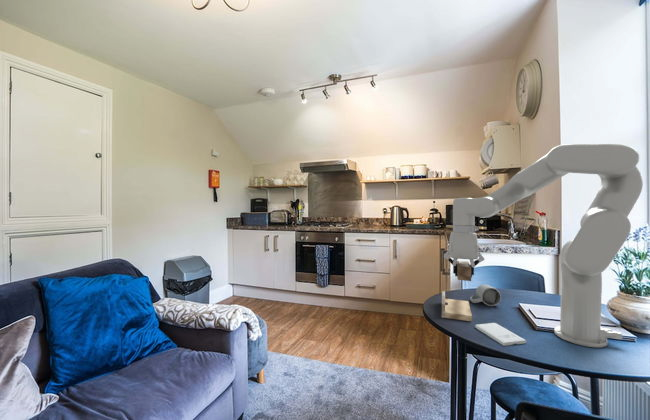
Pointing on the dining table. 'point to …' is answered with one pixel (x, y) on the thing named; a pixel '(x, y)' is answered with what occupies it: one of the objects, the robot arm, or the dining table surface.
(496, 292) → the ceramic mug
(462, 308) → the oak ledge
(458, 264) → the brown rectangular block
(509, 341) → the external hard drive
